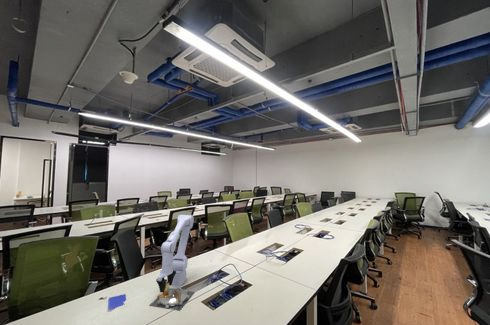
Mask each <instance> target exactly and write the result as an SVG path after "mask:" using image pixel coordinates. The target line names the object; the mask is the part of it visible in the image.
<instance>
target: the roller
mask: <svg viewBox="0 0 490 325" xmlns="http://www.w3.org/2000/svg"><path fill="white" fill-rule="evenodd" d="M169 288H170V285H169V282H168V281H167V282H166V285H165V290H164V292H163V296H167V295H168V294H169Z"/></svg>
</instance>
